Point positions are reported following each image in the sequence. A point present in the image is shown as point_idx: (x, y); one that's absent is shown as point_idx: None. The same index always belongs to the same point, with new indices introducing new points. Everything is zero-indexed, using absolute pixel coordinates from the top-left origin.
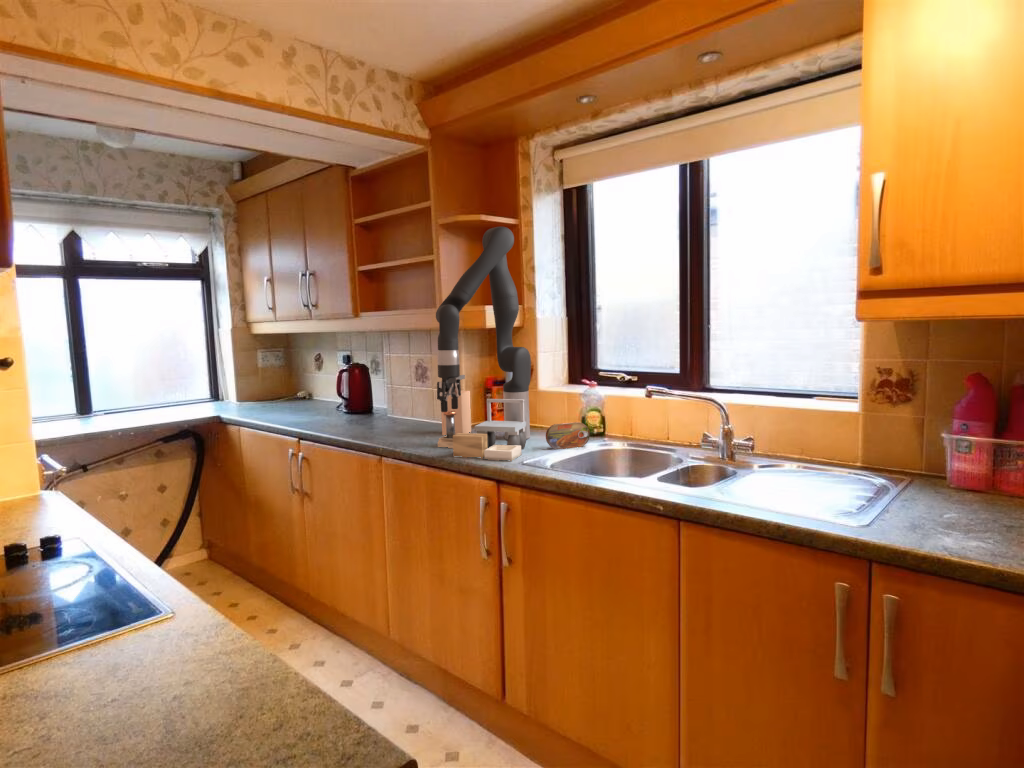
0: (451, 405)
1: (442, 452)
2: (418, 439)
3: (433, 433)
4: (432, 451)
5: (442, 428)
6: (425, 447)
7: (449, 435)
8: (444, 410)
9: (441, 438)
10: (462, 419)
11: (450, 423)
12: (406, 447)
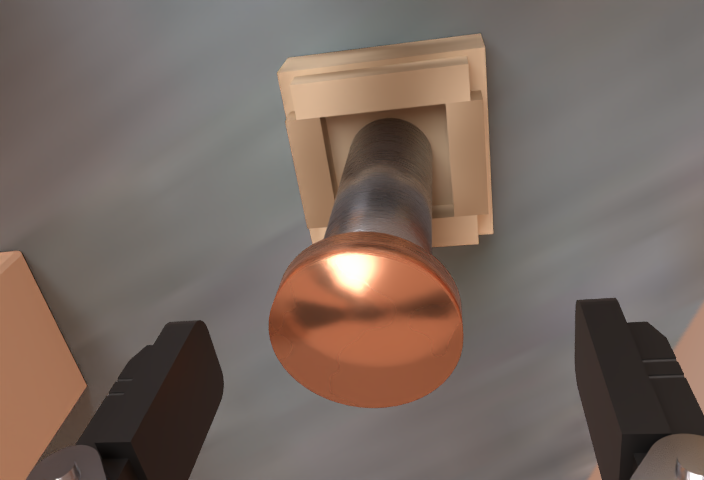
0: (209, 426)
1: (679, 63)
2: (274, 452)
3: None
4: (648, 171)
5: (61, 421)
6: (506, 296)
7: (431, 172)
8: (647, 334)
9: (464, 225)
10: None
11: (423, 221)
12: (539, 405)
